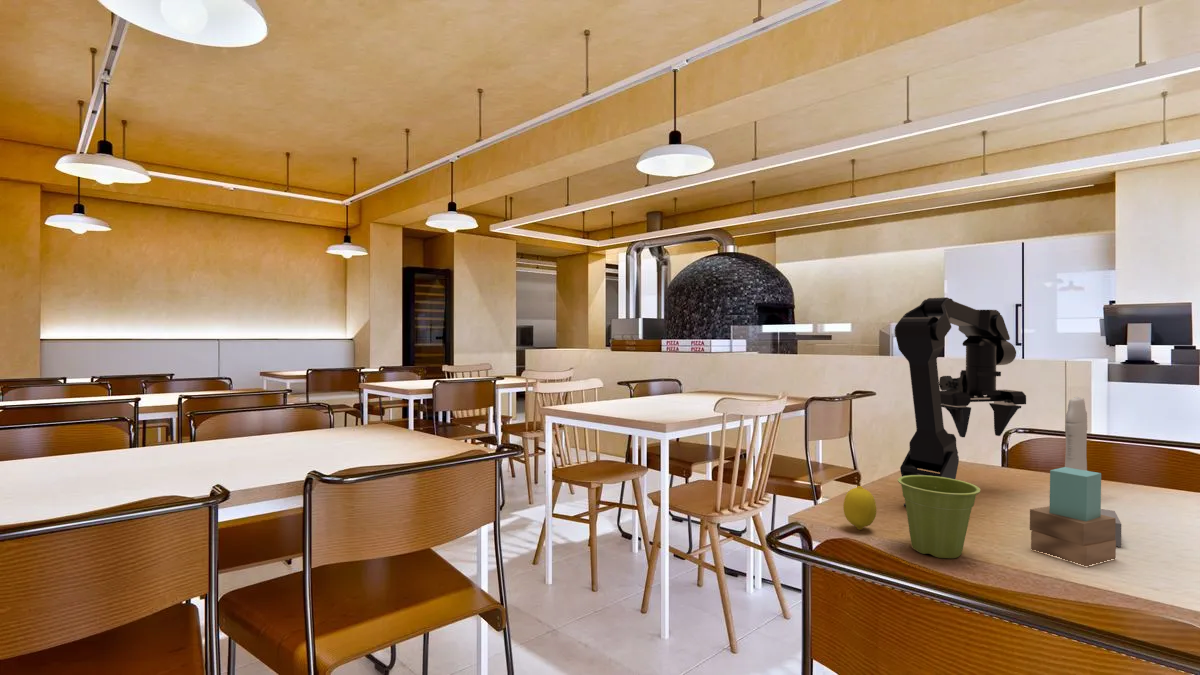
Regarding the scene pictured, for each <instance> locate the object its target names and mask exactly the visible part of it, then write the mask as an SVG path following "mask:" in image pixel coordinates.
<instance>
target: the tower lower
mask: <svg viewBox="0 0 1200 675" xmlns="http://www.w3.org/2000/svg"><path fill="white" fill-rule="evenodd" d="M1116 548H1117V547H1116V540H1113V541H1108V542H1103V543H1098V544H1092V545H1087V546H1081V545H1077V544H1074V543H1071V542H1067V541H1064V540H1061V539H1058V538H1054V537H1051V536H1048V535H1044V534H1041V533H1038V532H1034V531H1031V530H1030V550H1031V549H1032V550H1036V551H1039V552H1043V553H1047V554H1050V555H1053V556H1057V557H1060V558H1062V559H1065V560H1068V561H1072V562H1075V563H1078V564H1081V565H1084V566H1089V565H1092V564H1096V563H1100V562H1104V561H1107V560H1111V559H1115V558H1116V555H1117V552H1116V551H1117V550H1116ZM1032 550H1031V551H1032Z"/></svg>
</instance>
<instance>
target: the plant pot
mask: <svg viewBox="0 0 1200 675" xmlns="http://www.w3.org/2000/svg"><path fill="white" fill-rule="evenodd" d="M897 481H898V484H900V486H901V489H902V490H901V491H902V496H903V498H904V502H905V503H906V507H905V510H906V517H907V522H908V530H909V536H910V544H911V547H912V549H913V550H914V551H917V552H919V553H920V554H924V555H926V554H929V555H931V556H933V557H935V558H938V559H956V558H959V557H960V556H961V555H962V554H963V550H964V549H963V548H964V544H965V540H966V536H967V531H968V527H969V522H970V518H971V513H972V509H973V507H974V505H975V502H976V498H977V495H979V494H980V493H981V488H980V487H979V486H977V485H975V484H973V483H970V482H967V481H964V480H959V479H957V478H956V479H951V478H945V477H938V476H927V475H925V476H924V475H909V476H902V475H901V476H900V477H898V478H897Z"/></svg>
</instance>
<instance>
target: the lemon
mask: <svg viewBox="0 0 1200 675" xmlns="http://www.w3.org/2000/svg"><path fill="white" fill-rule="evenodd" d="M843 514H844V517H845V518H846V520H847V521H848V522H849V524H851V525H853V526H854V527H856V529H857V530H863V529H864V528H865V527H868V526H870V525H872V523H873V522H874V521H875V519H876V517H877V516H876V515H877V504H876V500H875V498H874V496H873V494H872V493H871V491H869V490H868V489H866V488H864V487H863V486H861V485H858V486H857V487H854V488H852V489H850V490H848V492H847V493H846V495H845V497H844V500H843Z"/></svg>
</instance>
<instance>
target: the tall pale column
mask: <svg viewBox="0 0 1200 675" xmlns="http://www.w3.org/2000/svg"><path fill="white" fill-rule="evenodd" d="M1064 430H1065V458H1064V459H1065V460H1064V461H1065V462H1064V467H1068V468H1074V469H1079V470H1085V471H1088V461H1087V444H1088V443H1087V436H1088V433H1087V432H1088V411H1087V409H1086V402H1085V399H1084V398H1081V397H1079V396H1075V397H1073V398H1071V399H1069V400H1068V405H1067V410H1066V413H1065V425H1064Z"/></svg>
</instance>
